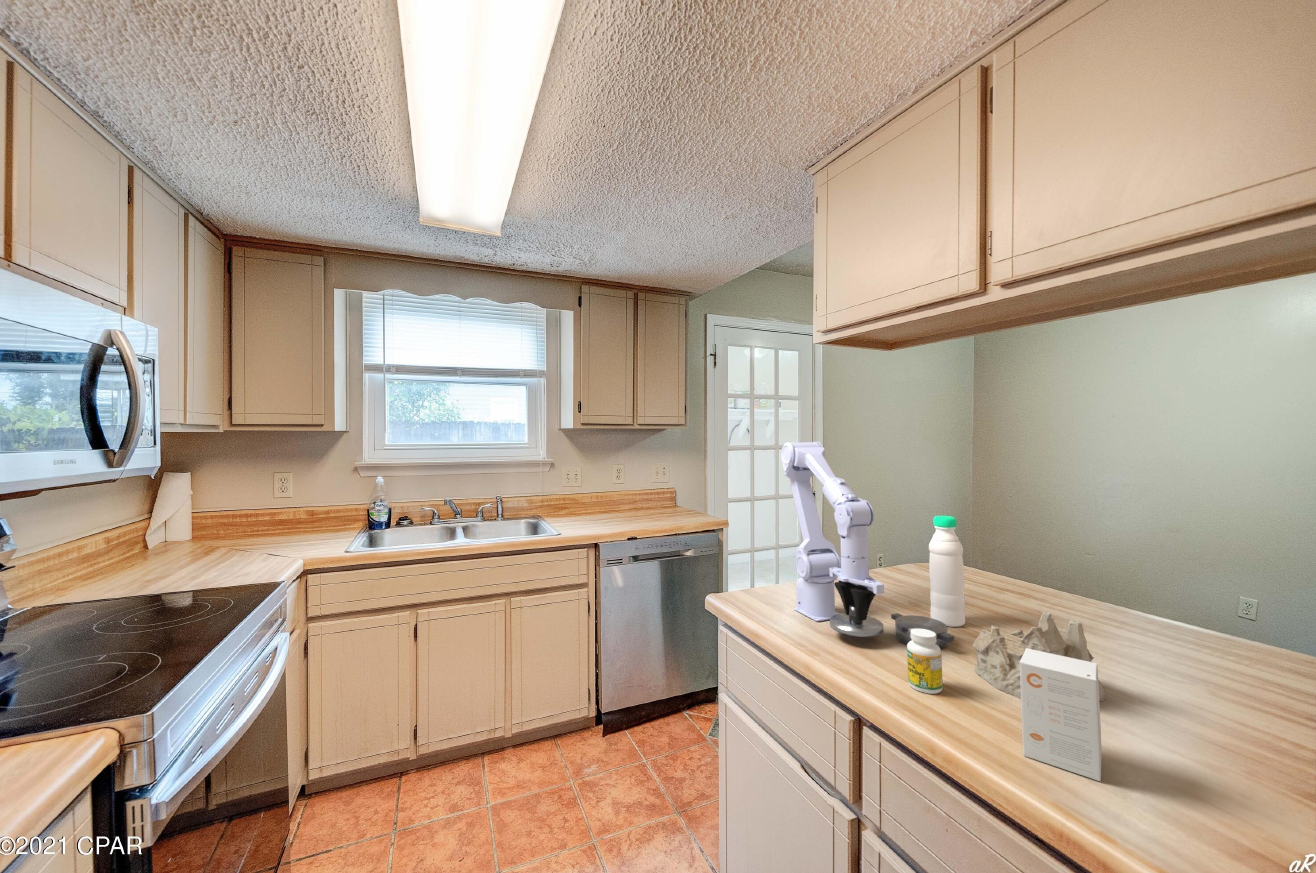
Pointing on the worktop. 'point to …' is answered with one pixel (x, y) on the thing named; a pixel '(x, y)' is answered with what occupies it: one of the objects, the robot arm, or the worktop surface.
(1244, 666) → the worktop surface
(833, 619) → the lid
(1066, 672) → the small box
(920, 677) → the supplement bottle
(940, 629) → the pot
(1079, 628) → the ceramic cottage
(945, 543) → the water bottle
